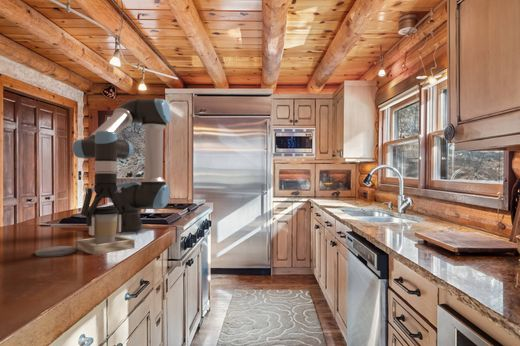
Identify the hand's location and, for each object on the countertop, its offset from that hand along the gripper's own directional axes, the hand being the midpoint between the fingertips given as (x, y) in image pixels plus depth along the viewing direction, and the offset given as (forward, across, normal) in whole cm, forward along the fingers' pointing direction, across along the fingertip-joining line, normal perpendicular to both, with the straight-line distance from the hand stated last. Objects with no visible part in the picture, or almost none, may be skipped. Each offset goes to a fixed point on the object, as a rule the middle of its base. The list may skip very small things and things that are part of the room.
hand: (105, 233), depth 129 cm
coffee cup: (+6, 0, 0) cm, 6 cm away
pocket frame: (+6, 0, 0) cm, 6 cm away
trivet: (+6, +15, -5) cm, 17 cm away
